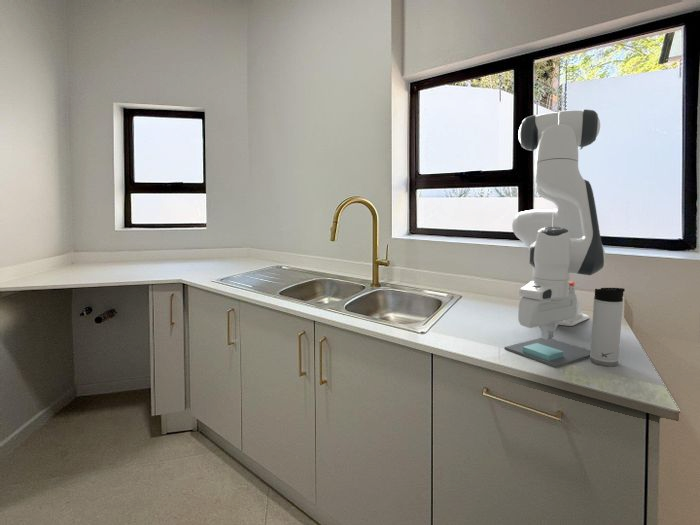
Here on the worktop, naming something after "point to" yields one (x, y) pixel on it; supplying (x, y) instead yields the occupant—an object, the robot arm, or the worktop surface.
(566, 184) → the robot arm
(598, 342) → the travel mug
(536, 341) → the mat
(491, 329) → the worktop surface
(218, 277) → the worktop surface
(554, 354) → the block
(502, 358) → the worktop surface
